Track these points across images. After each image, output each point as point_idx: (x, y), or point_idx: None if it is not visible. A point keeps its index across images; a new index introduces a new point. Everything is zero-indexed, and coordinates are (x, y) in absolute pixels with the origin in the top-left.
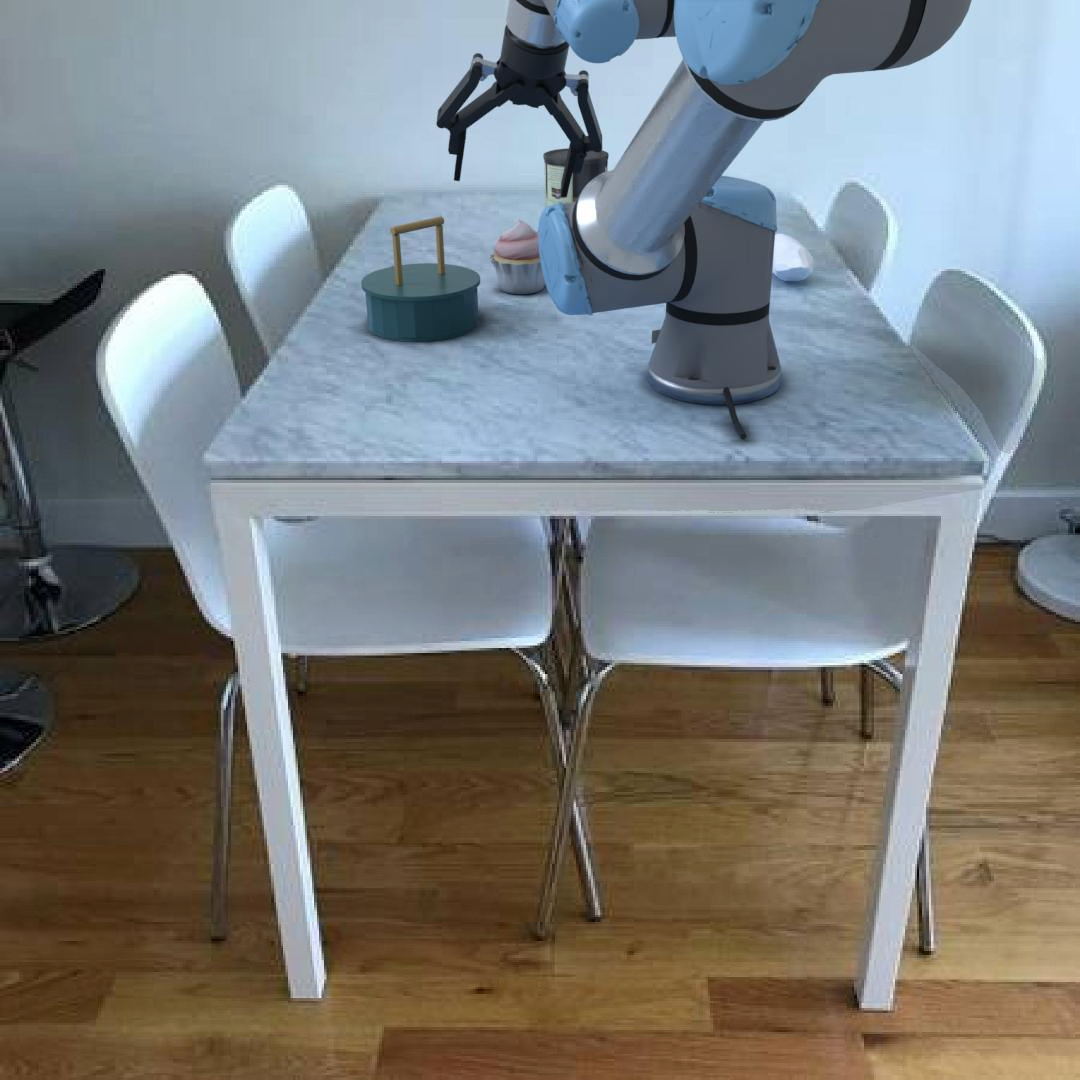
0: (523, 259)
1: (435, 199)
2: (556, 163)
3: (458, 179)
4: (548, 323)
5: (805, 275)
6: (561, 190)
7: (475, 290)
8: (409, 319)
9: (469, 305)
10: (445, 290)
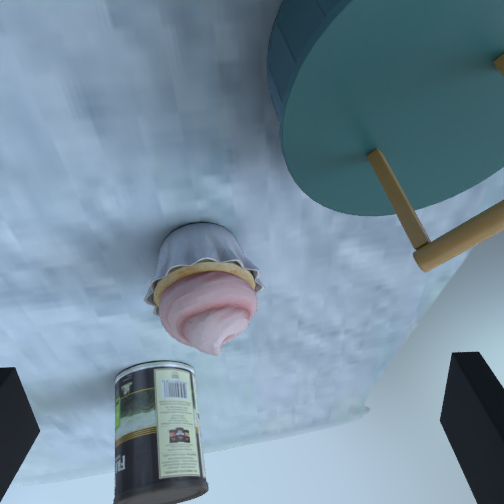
0: (196, 273)
1: (318, 417)
2: (184, 480)
3: (462, 358)
4: (97, 75)
5: None
6: (15, 394)
7: None
8: None
9: (301, 30)
10: (390, 6)
